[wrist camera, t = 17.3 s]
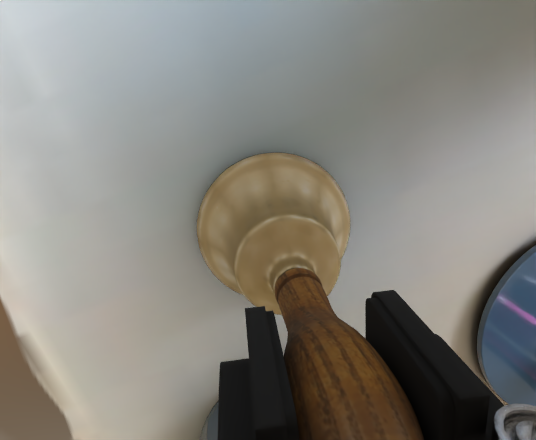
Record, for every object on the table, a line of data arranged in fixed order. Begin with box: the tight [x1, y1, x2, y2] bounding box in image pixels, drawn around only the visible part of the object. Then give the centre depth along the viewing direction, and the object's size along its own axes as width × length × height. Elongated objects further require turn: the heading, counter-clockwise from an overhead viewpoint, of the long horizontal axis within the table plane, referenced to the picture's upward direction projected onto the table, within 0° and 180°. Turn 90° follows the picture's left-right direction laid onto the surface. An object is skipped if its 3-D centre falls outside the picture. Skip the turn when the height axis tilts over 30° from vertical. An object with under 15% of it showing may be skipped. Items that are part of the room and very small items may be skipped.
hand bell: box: [197, 153, 424, 440], centre depth 13 cm, size 8×8×16 cm
